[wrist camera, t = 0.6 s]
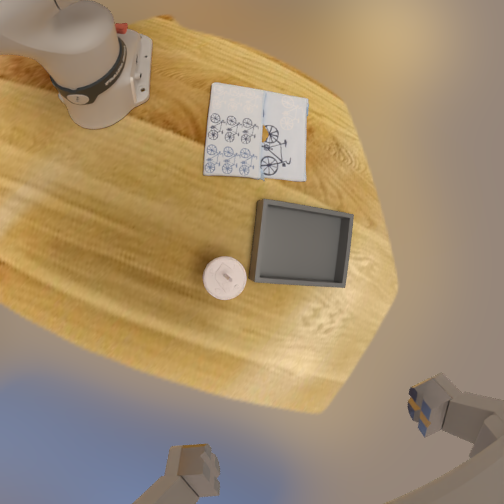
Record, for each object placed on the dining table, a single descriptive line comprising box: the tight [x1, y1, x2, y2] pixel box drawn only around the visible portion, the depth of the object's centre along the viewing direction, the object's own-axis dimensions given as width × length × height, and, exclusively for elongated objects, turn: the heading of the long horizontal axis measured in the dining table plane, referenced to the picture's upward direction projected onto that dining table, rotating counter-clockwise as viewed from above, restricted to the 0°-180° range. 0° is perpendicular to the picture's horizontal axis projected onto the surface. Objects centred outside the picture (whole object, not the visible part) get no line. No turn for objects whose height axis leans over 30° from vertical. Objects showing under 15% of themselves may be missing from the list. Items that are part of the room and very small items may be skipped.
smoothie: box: [203, 256, 247, 300], centre depth 45 cm, size 6×6×14 cm
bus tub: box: [249, 199, 354, 288], centre depth 54 cm, size 14×18×4 cm
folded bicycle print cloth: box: [203, 82, 309, 182], centre depth 52 cm, size 19×20×2 cm
